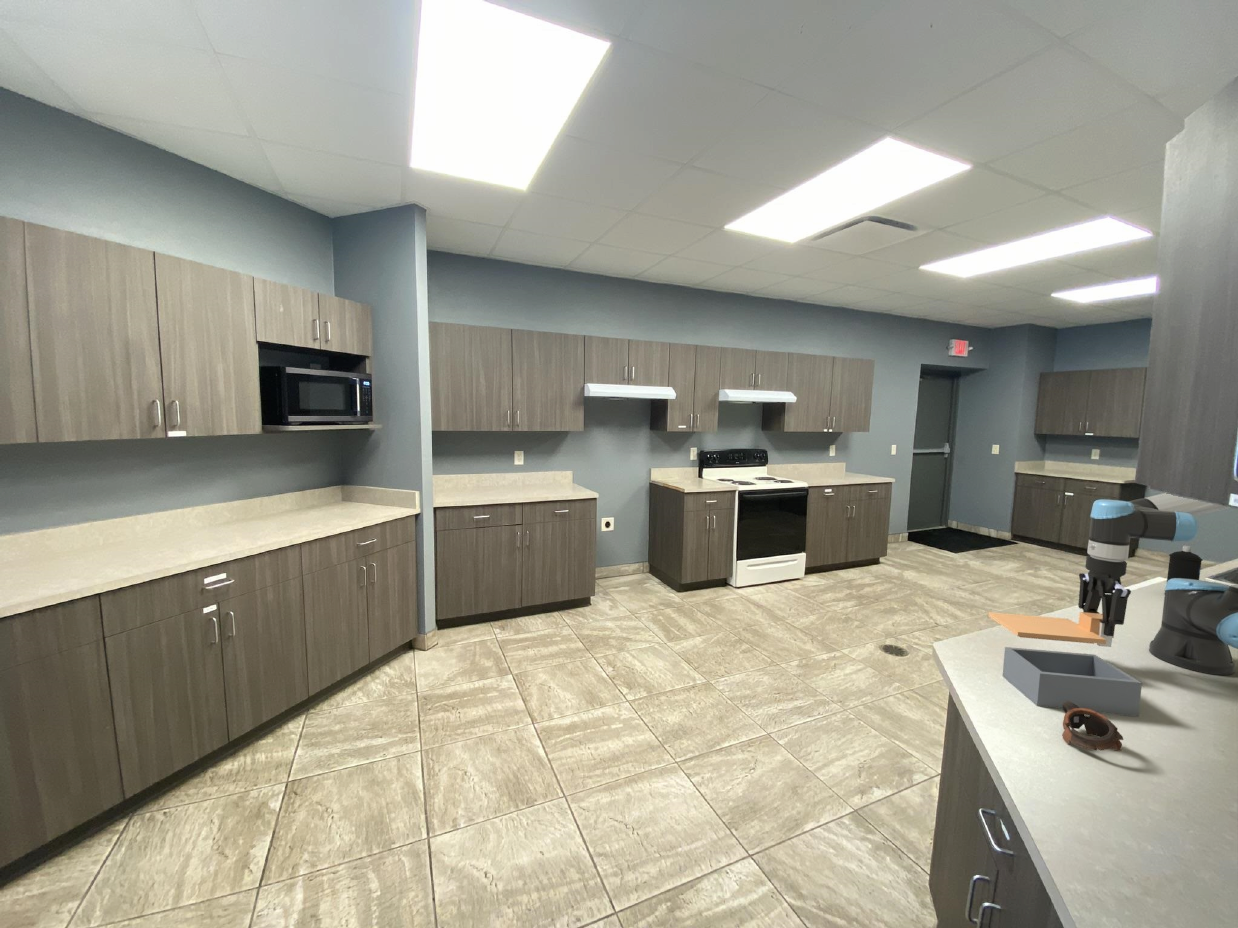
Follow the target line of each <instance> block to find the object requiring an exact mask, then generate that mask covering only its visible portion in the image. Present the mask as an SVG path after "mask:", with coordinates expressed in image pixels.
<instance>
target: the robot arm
mask: <svg viewBox="0 0 1238 928" xmlns="http://www.w3.org/2000/svg"><path fill="white" fill-rule="evenodd" d="M1166 493H1167V492H1163V493H1160V494H1159V493H1158V494H1155V495H1151V496H1148V497H1147V496H1145V497H1144V498H1143V497H1142V498H1138V499H1134V500H1130V501H1127V500H1126V501H1125V500H1118V499H1117V500H1116V499H1097V500H1095V501H1094V502H1093V504H1092V506H1091V507H1092V508H1091V512H1090V524H1089V533H1088V534H1089V535H1088V544H1087V551H1086V552H1087V554H1088V555H1087V556H1086V558H1085V570H1088V573H1083V572H1082V573H1079V574H1078V576H1079V581H1080V582H1079V594H1078V608H1079V609H1082V612H1085V613H1098V614H1102V616H1103V621H1102V620H1100V623H1099V632H1098V635H1099V636H1100V637H1102V638H1104V639H1106V644H1099V643H1096V645H1097V646H1098V647H1107V648H1111V647H1112V642H1113V638H1112V636H1113V635H1115V631H1114V628H1115V629H1116V625H1118V626H1123V625H1124V624H1125V617H1126V612H1127V605H1128V599H1129V597H1130V595H1131V594H1132V591H1131V589H1130V588H1125V587H1124V586H1122V580H1121V578H1122V577H1123V576H1125V575H1126V574H1127V565H1128V562H1126V560H1128V559H1129V551H1130V542H1131V538H1132V539H1144V540H1155V541H1166V542H1167V541H1168V542H1172V543H1174V542H1190V541H1192V540H1195V538H1196V537H1197V535H1198V533H1199V523H1198V521H1197V518H1196V517H1195V516H1200V515H1204V514H1207V513H1212V512H1213V513H1214V512H1217V511H1223V510H1226V509H1230V507H1225V506H1219V505H1213V504H1211V503H1206V502H1200V501H1198V500H1193V499H1187V498H1183V497H1178V496H1173V495H1171V494H1166ZM1163 591H1164V593H1165V594H1164V600H1163V606H1162V607H1163V608H1162V618H1161V625H1160V628H1159V630H1158V631H1157V633H1156V635H1155V636H1154V638H1153V639H1152V640H1151V641H1150V643H1149V646H1148V651H1149V652H1148V653H1150V654H1151V655H1152V656H1154V657H1156V658H1157V659H1159V660H1161V661H1164V662H1166V663H1169V664H1172V665H1174V666H1177V667H1181V668H1183V669H1188V670H1192V671H1195V672H1199V673H1204V674H1205V673H1206V674H1210V675H1217V676H1218V675H1219V676H1229V675H1233V674H1234V673H1235V667H1236V664H1235V661H1234V660H1233V657H1232V653H1231V650H1230V647H1231V648H1233V649H1236V650H1238V584H1231V585H1230V584H1225V583H1221V582H1216V581H1215V582H1214V581H1208V580H1202V579H1201V580H1200V579H1199V580H1193V579H1182V578H1173V579H1170V580H1168V581H1167V580H1166V585H1165V589H1164V590H1163ZM1100 605H1101V612H1099V611H1098V610H1099V608H1100Z"/></svg>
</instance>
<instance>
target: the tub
mask: <svg viewBox="0 0 1238 928" xmlns="http://www.w3.org/2000/svg"><path fill="white" fill-rule="evenodd" d="M1002 665H1003V667H1002V677H1003V678H1004V679H1005V680H1006V681H1007V682H1008V683H1010V684H1011V685H1012V686H1013V687H1014V688H1015V689H1017V690H1018V692H1020V693H1021V694H1023V695H1024V696H1025V697H1026V698H1027V699H1028V700H1030V702H1031V703H1033V704H1034V705H1035V706H1036V707H1043V708H1044V707H1046V708H1054V709H1062V710H1063V708H1062V704H1063V703H1064V702H1067V701H1069V702H1072V703H1074V704H1076V705H1077V706H1078V707H1079V708H1085V709H1090V710H1093V711H1096V712H1098V713H1100V714H1111V715H1119V716H1129V717H1130V716H1131V717H1139V712H1140V705H1141V697H1142V696H1141V695H1142V687H1143V682H1141V681H1140V680H1138V679H1136V678H1135V677H1133V676H1132V675H1129V674H1128V673H1126V672H1125V671H1123V670H1121V669H1120V668H1118V667H1116V666H1115V665H1113V664H1112V663H1109V662H1108V661H1106V660H1104V658H1101V657H1100V656H1098V655H1097V654H1092V653H1079V652H1070V651H1069V652H1068V651H1057V650H1055V651H1054V650H1045V649H1044V650H1043V649H1034V648H1022V647H1012V646H1011V647H1010V646H1009V647H1008V646H1005V647H1004V657H1003V664H1002Z"/></svg>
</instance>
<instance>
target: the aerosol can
mask: <svg viewBox="0 0 1238 928" xmlns="http://www.w3.org/2000/svg"><path fill="white" fill-rule="evenodd" d="M1191 549H1192V546H1190V545H1183V546H1182V550H1179V551H1174V552H1172V553H1170V554H1168V556H1169V560H1168V561H1169V562H1168V570H1167V575H1166V577H1167V579H1166V582H1167V581H1168V580H1170V579H1173V578H1182V579H1193V580H1200V577H1201V576H1200V575H1201V570H1202V562H1203V558H1201V557H1200V556H1199V555H1198V554H1196V553H1193V552H1191ZM1163 594H1164V595H1165V592H1163Z"/></svg>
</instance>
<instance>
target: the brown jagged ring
mask: <svg viewBox="0 0 1238 928" xmlns="http://www.w3.org/2000/svg"><path fill="white" fill-rule="evenodd" d="M1062 708H1063V709H1062ZM1062 708H1061V709H1062V711H1063V712H1064V715H1063V720H1062V721H1063V722H1062V727H1063V732H1062V739H1063V740H1064V742H1065V743H1066V744H1067V745H1068V746H1069V745H1071V744H1072V745H1075V746H1077V747H1080V748H1081V747H1082V748H1084V749H1087V750H1092V751H1097V750H1099V751H1106V750H1114V751H1121V750H1122V747H1123V743H1122V741H1124V736H1123V735H1122V734H1121V733H1120V732H1119V731H1118V727H1117V726H1116V725H1115V724H1114V723H1113V722H1111V720H1109V719H1108V718H1107V717H1106V716H1105V715H1103V713H1100V712H1096V711H1093V710H1090V709H1085V708H1079V707H1078V706H1077V705H1076V704H1074V703H1072V702H1069V701H1067V702H1064V703H1063V704H1062ZM1083 725H1084V729H1085V734H1083V733H1082V732H1079V729H1081V727H1083ZM1077 730H1078V731H1077Z"/></svg>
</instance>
